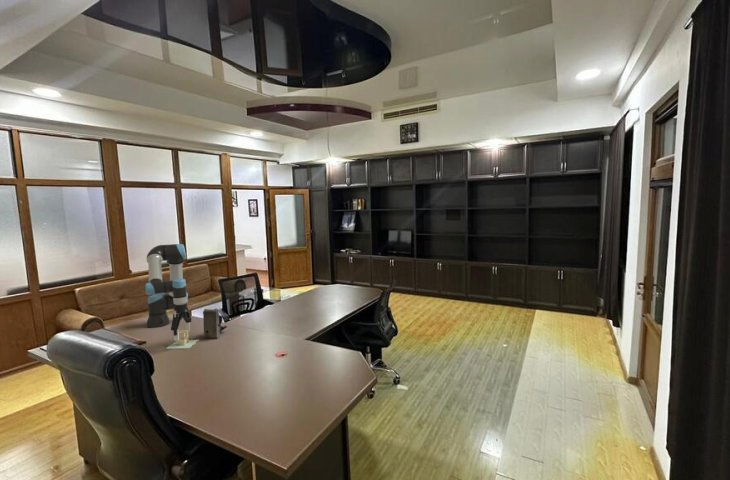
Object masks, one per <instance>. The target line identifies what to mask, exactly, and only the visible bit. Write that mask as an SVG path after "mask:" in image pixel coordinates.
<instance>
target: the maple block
mask: <svg viewBox="0 0 730 480" xmlns="http://www.w3.org/2000/svg"><path fill="white" fill-rule="evenodd" d="M189 340H190V339H189V333H188V330H179V340H176V341H177V345H186V344H187V343H189Z"/></svg>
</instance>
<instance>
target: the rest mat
mask: <svg viewBox="0 0 730 480" xmlns="http://www.w3.org/2000/svg"><path fill="white" fill-rule="evenodd" d="M197 341H198V342H200V339H189V343H187V344H186V345H177V340H175V341H174V342H173V343H172V344H170V345H168V346H167V347H165V350H184V349H185V350H188V349H190V348H191V347H193V346H194V345H195V344H197V343H198V342H197ZM196 342H197V343H196ZM192 345H193V346H192Z"/></svg>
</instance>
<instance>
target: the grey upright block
mask: <svg viewBox="0 0 730 480" xmlns="http://www.w3.org/2000/svg"><path fill="white" fill-rule="evenodd" d="M202 314H203V317H202V318H203V337H204V339H219V338H220V335H221V334H220V332H221V331H222V332H223V331H224V330H225V329H227V328H228V326H227V325H224V326H222V322H223V316H222V315H220V312H219V309H218V308H213V309H212V308H208V309H207V308H204V309H203V311H202ZM218 337H219V338H218Z"/></svg>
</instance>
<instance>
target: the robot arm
mask: <svg viewBox="0 0 730 480" xmlns="http://www.w3.org/2000/svg"><path fill="white" fill-rule="evenodd" d="M185 260H187V253H186V249H185V245H184V244H183V243H173V244H159V245H156V246H154V247H152V248H151V249H150V251H148V253H147V255H146V263H147V264H148V282H147V283H145V284H144V285H145V287H144V288H145V289H144V290H145V291H144V292H145V294H146V295H148V298H147V304H148V305H147V307H148V308H147V309H148V318H147V321H146V327H147V328H150V329H151V328H152V329H153V328H160V327H165V326H167V325H169V324H171V326H170V330H171V331H172V332H173V340H174V341H177V340H179V331H180V330H179V326H180V323H181V320H184V328H185V330H188V334H190V333H191V324H190V323H191V322H192V316H191V314H190V312H189V310H190V309H189V308H188V301H189V293H188V292H187V281H186V278H184V276H183V275H184V274H183V273H184V272H183V271H184V270H183V264H184V263H185ZM163 261H164V262H165V261H166V263H167V264H168V265H169V280H164V281H163V269H162V263H163ZM167 310H168V311H169V310H174V311H175V313H173V315H172V320H170V318H169V315H168V314H167ZM171 321H172V322H171ZM170 322H171V323H170Z"/></svg>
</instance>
